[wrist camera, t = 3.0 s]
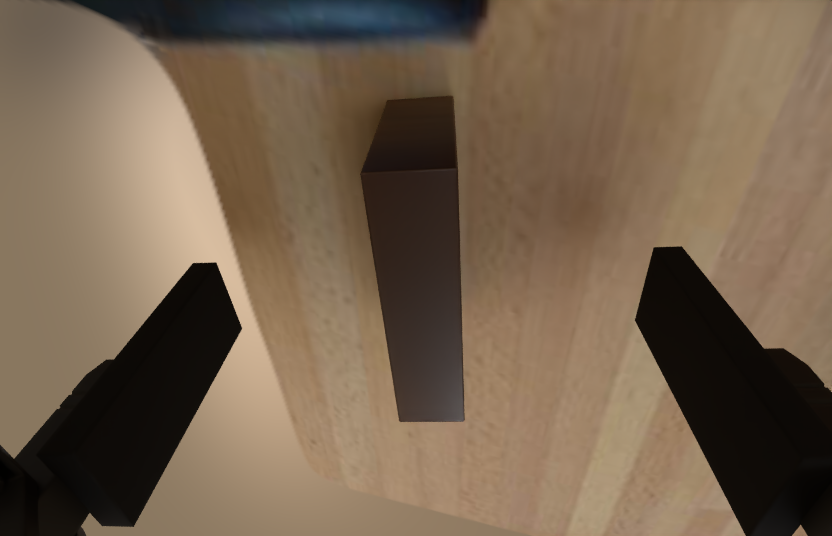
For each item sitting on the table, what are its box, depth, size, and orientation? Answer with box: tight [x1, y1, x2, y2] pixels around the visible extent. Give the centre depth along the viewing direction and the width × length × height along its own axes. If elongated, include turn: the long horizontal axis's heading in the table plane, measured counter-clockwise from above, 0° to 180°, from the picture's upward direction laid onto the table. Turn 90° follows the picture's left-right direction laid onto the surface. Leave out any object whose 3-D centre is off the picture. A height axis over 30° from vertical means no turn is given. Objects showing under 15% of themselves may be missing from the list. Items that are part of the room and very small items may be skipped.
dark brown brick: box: [360, 96, 465, 422], centre depth 15 cm, size 2×9×6 cm, turn 5°
